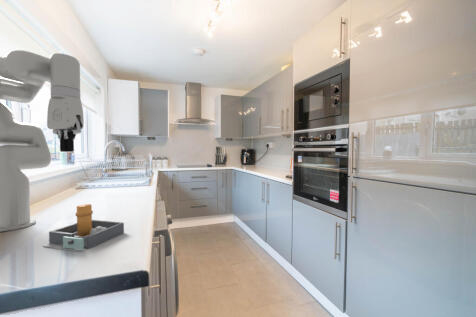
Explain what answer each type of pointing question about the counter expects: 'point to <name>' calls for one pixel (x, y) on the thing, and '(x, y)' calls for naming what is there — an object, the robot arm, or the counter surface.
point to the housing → (97, 235)
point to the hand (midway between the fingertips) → (67, 151)
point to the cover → (73, 242)
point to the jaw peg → (84, 219)
